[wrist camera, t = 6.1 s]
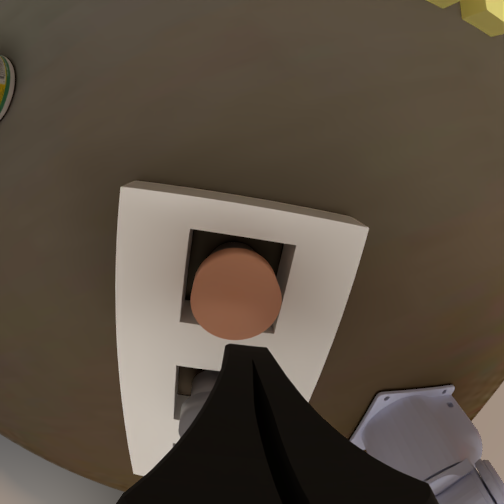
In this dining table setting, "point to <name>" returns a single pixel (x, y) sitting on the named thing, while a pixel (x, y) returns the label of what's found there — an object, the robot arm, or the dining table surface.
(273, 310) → the terracotta button
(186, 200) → the button panel
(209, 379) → the charcoal button
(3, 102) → the supplement bottle
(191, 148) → the dining table surface
